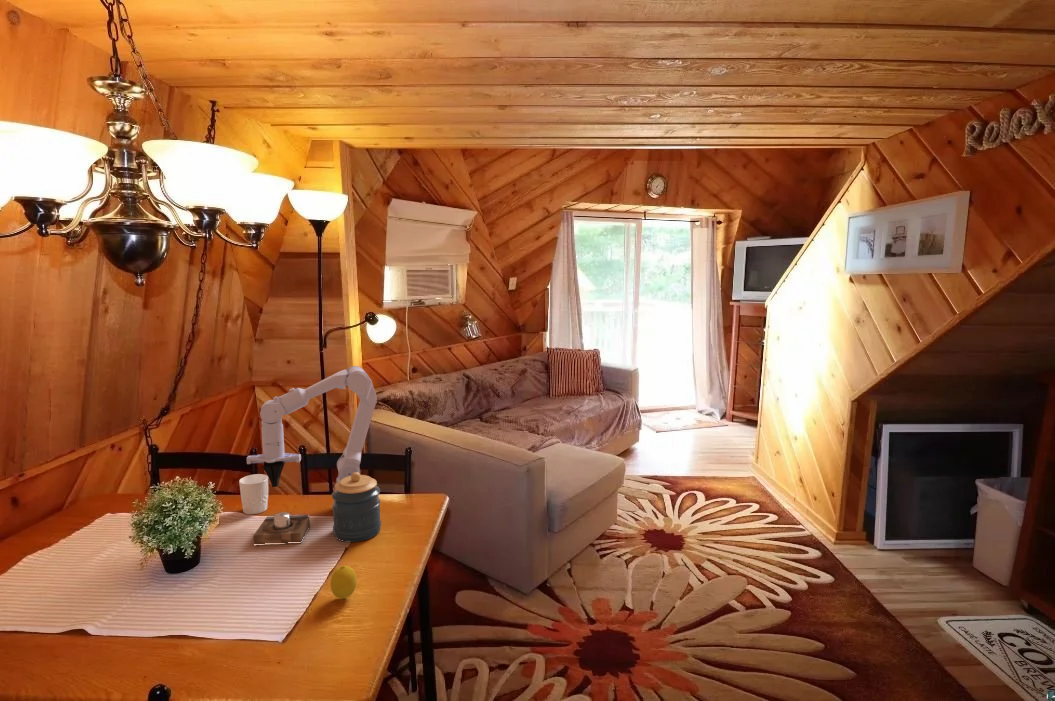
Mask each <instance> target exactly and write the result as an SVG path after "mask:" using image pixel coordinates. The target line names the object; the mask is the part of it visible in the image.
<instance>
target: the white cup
mask: <svg viewBox="0 0 1055 701" xmlns="http://www.w3.org/2000/svg"><path fill="white" fill-rule="evenodd" d="M238 484H239V490H240V491H239V492H240V498H241V500H240V501H241V505H242V506H241V507H242V513H244V514H245V515H257V514H258V515H259V514H261V513H263V512H266V510H268V503H269V502H268V501H269V477H268V475H267V474H264V473H263V474H261V473H257V474H255V473H254V474H250V475H246V476H244V477H242V478H240V479H239V481H238Z"/></svg>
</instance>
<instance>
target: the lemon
mask: <svg viewBox="0 0 1055 701" xmlns="http://www.w3.org/2000/svg"><path fill="white" fill-rule="evenodd" d="M356 588H357V575H356V572H355V570H354V568H352V567H351V566H348V565H344V564H342V565H341V566H339V567H336V569H334V571H333V573H332V574H331V578H330V589H331V590H330V591H331V592H332V595H334V596H335V597H336V598H339V599H342V600H346V598H349V597H350V596H351V595H353V593H354V592H355V590H356Z"/></svg>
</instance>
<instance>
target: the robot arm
mask: <svg viewBox="0 0 1055 701" xmlns="http://www.w3.org/2000/svg"><path fill="white" fill-rule="evenodd" d="M347 387H348V389H350V390H351V391H352V392H353V393H355V394H356V395H357V397H358V399H359V403H358V406H357V409H356V412H355V416H354V420H353V423H352V425H351V430H350V432H349V436H348V440H347V443H346V446H345V448H344V450H343V452H342V455H341V456H340V457H339V458H338V459H337V461H336V468H337V470H338V474H337V477H336V479H335V480H336V483H335V484H337V483H338V482H339V481H341V480H342V479H343V478H345V477H348V476H351V475H352V474H353V473H354V472H358V473H360V474H361V469H360V464H361V462H362V460H361V459H362V451H363V448H364V445H365V441H366V438H367V434H368V431H369V427H370V424H371V421H372V417H373V415H374V411H375V407H376V404H377V401H378V395H377V393H376V390H375V388H374V384H373V380H372V379H371V378H370V375H368V373H367V372H366V371H365V369H364V368H362V367H360V366H358V365H353V366H350V367H348V368H347V369H343V370H340V371H338V372H336V373H333V374H332V375H330V376H327V377H325V378H324V379H322V380H320V381H318V382H316V383H314V384H312V385H311V386H310V385H309V386H308V387H306V388H305V389H304V388H301V387H297V388H294V387H292V388H290V389H289V390H288V392H287V393H284V394H282V395H280V396H274V397H273V399H269V400H267V401H264V403H262V405H261V407H260V412H259V414H260V416H259V417H260V418H261V440H262V442H261V443H262V445H261V446H262V453H261V454H255V455H254V454H253V455H248V456H247V457H246V464H247V465H251V464H263V465H262V469H263V471H264V472H265V473H266V475H267V476H268V480H269V481H270V484H271V487H272V488H278V486H279V485H280V479H281V475H282V471H283V469H284V466H285V465H286V463H293V462H294V463H300V462H301V460H302V455H301V453H290V452H286V451H285V439H284V438H285V434H284V424H283V416H286V415H287V416H288V415H290V414H291V413H294V412H296V411H297V410H299V409H301V408H305V407H306V406H308V404H309V402H310V399H313V398H315V397H317V396H320V395H322V394H324V393H327V392H329V391H332V390H333V389H340V390H347Z"/></svg>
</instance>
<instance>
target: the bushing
mask: <svg viewBox="0 0 1055 701" xmlns="http://www.w3.org/2000/svg"><path fill="white" fill-rule="evenodd" d="M273 516H274V524H275V530H284V529H288V528H290V527H291V525H290V516H291V514H290V512H288V511H281V512H278V513H276V514H274V515H273Z"/></svg>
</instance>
